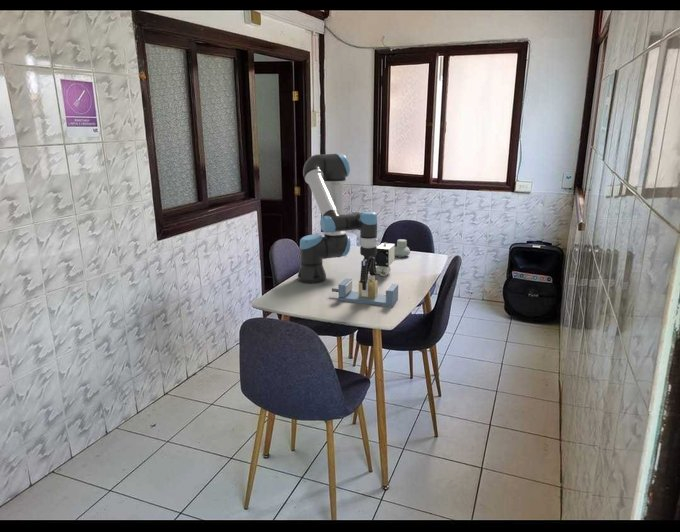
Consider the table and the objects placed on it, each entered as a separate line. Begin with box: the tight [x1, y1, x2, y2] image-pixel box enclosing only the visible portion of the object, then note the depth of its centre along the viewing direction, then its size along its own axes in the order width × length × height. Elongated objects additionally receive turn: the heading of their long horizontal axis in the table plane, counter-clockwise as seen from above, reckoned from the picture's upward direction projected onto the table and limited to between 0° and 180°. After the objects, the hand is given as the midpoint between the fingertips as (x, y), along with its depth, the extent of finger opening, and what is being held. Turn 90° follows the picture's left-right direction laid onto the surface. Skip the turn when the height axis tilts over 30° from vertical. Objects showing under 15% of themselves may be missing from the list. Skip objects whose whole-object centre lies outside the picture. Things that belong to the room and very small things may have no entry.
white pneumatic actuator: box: [375, 242, 396, 277], centre depth 264 cm, size 18×8×18 cm, turn 159°
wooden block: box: [358, 278, 379, 299], centre depth 227 cm, size 8×4×8 cm, turn 70°
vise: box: [338, 283, 399, 308], centre depth 228 cm, size 26×10×8 cm, turn 69°
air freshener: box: [395, 238, 411, 258], centre depth 302 cm, size 11×8×10 cm
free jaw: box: [331, 278, 353, 298], centre depth 232 cm, size 9×10×6 cm
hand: (368, 292), depth 228 cm, fingers open, 10 cm apart
